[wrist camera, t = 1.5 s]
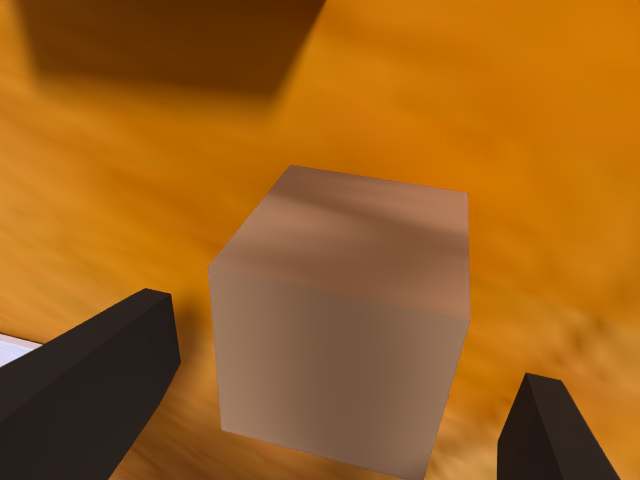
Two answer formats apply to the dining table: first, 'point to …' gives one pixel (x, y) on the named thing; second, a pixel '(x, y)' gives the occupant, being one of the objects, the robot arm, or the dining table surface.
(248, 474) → the dining table surface
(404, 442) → the walnut block
